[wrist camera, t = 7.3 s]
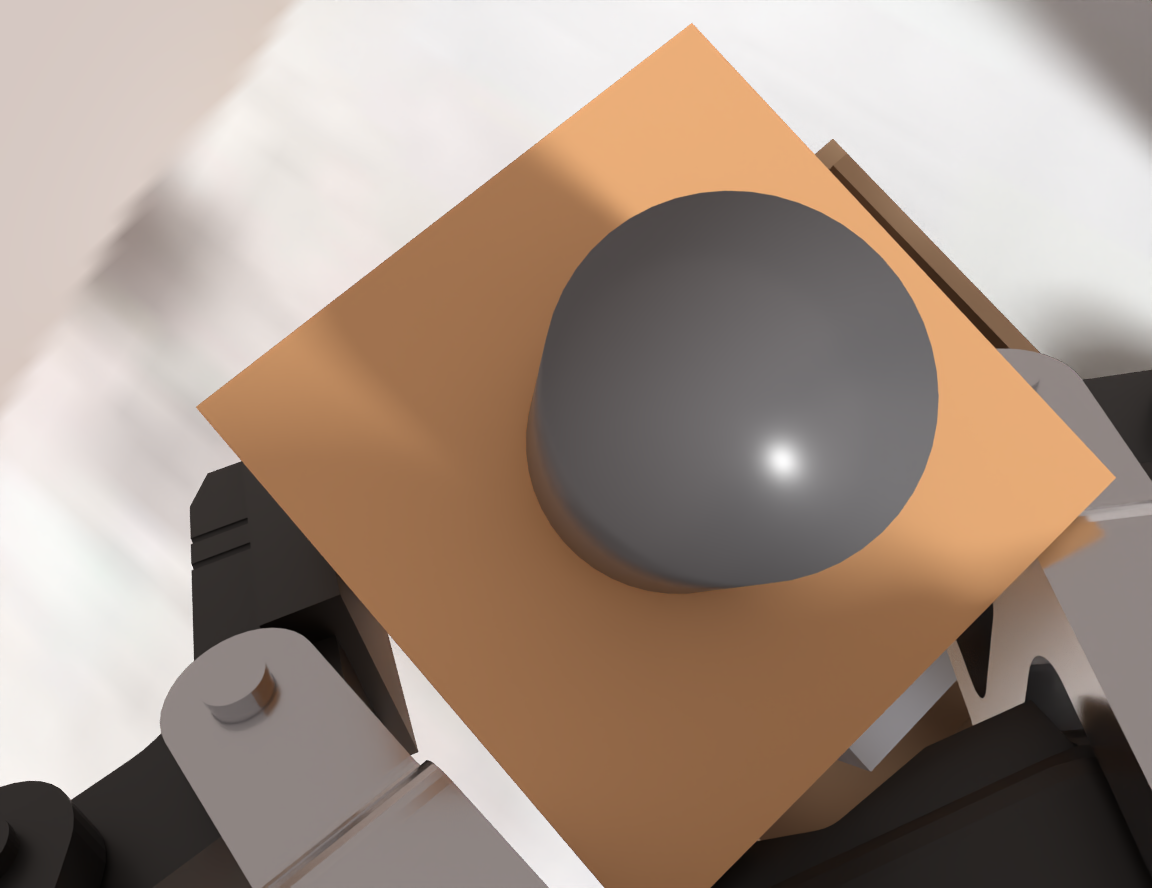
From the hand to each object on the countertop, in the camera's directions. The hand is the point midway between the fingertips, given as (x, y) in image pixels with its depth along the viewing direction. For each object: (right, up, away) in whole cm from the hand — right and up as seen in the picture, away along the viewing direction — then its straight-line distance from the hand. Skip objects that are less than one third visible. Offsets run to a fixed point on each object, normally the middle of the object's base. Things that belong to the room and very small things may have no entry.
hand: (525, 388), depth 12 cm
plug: (0, -2, +4) cm, 5 cm away
